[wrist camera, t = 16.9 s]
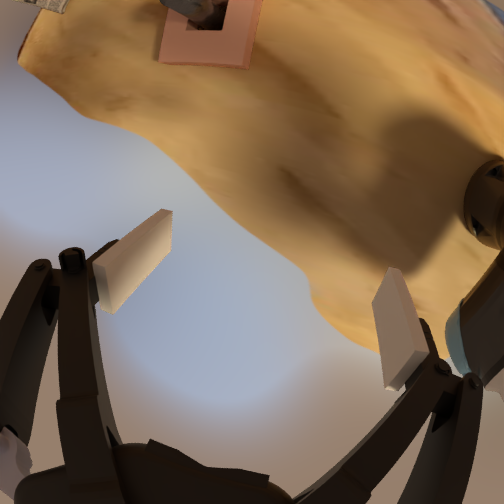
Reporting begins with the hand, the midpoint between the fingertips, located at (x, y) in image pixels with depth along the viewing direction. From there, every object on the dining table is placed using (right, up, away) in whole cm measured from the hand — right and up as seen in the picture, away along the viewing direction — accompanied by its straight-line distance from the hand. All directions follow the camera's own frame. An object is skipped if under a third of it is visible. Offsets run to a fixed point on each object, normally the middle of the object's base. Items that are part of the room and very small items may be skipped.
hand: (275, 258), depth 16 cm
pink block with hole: (-7, +35, +16) cm, 39 cm away
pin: (-7, +35, +16) cm, 39 cm away
